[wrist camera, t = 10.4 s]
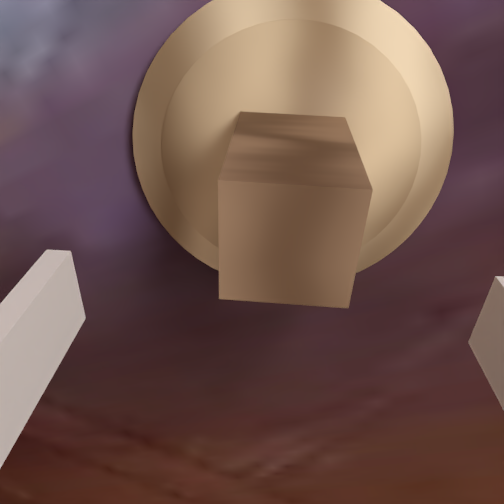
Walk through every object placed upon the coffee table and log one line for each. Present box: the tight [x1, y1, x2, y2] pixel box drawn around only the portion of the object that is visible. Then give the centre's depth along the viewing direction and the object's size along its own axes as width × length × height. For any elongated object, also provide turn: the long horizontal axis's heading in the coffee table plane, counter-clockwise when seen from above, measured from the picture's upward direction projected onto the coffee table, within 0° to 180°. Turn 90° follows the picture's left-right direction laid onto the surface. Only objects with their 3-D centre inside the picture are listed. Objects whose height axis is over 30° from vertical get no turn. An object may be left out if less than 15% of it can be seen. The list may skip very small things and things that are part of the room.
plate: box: [133, 0, 454, 273], centre depth 22 cm, size 16×16×1 cm
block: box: [218, 111, 373, 308], centre depth 19 cm, size 5×5×8 cm
